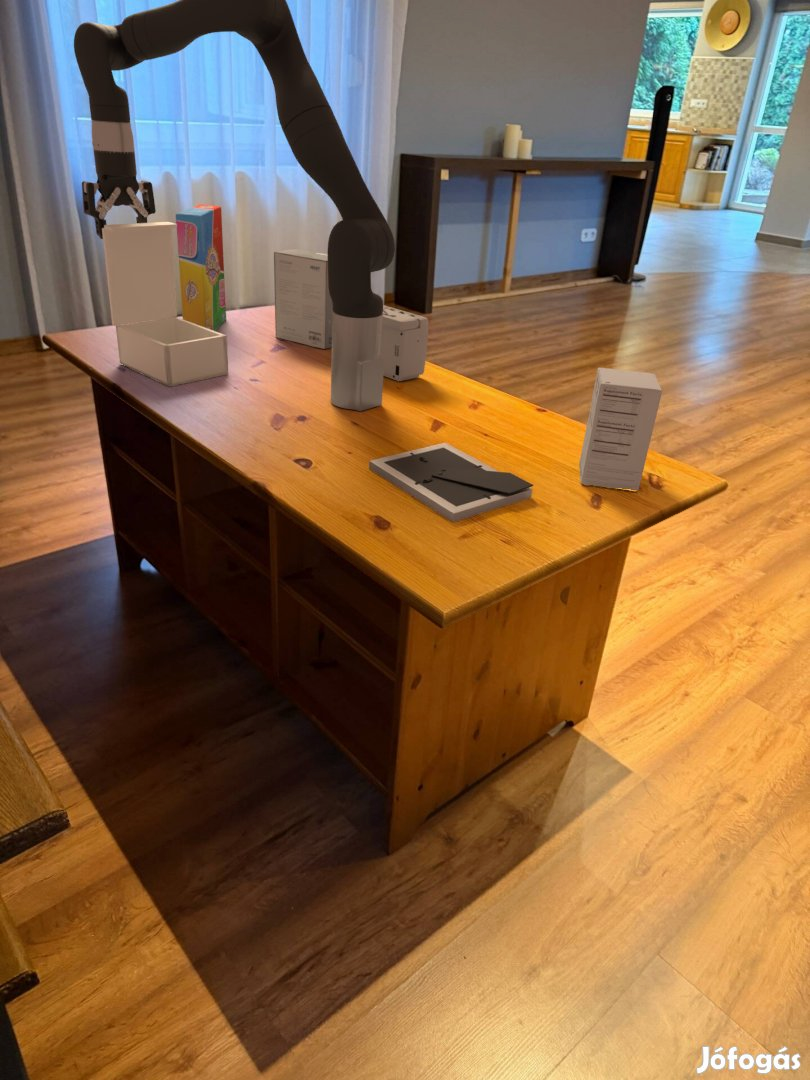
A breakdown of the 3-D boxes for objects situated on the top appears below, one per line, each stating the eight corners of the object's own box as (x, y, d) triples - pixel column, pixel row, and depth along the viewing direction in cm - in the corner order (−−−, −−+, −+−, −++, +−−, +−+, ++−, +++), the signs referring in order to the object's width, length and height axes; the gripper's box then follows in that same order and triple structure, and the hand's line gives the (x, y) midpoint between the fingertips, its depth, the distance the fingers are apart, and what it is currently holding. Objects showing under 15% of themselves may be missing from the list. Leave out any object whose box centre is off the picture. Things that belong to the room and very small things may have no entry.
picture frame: (530, 501, 117) (444, 453, 131) (533, 484, 115) (445, 438, 129) (452, 526, 108) (368, 472, 122) (454, 508, 106) (369, 456, 120)
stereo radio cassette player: (425, 378, 165) (434, 282, 155) (399, 385, 159) (406, 286, 149) (359, 355, 177) (362, 265, 167) (332, 360, 171) (334, 268, 161)
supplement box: (639, 493, 120) (664, 390, 112) (579, 486, 121) (600, 383, 113) (633, 469, 128) (656, 372, 120) (578, 462, 129) (597, 365, 121)
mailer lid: (178, 224, 153) (156, 217, 157) (110, 227, 143) (89, 220, 148) (183, 319, 163) (163, 310, 167) (121, 328, 153) (100, 319, 157)
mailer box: (228, 374, 158) (226, 335, 154) (169, 387, 148) (165, 346, 144) (178, 353, 168) (175, 316, 164) (120, 364, 158) (115, 325, 154)
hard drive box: (344, 344, 183) (347, 257, 174) (325, 350, 178) (326, 261, 168) (294, 331, 190) (293, 247, 180) (273, 337, 184) (272, 250, 175)
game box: (206, 341, 178) (199, 215, 165) (183, 339, 178) (173, 213, 164) (226, 319, 196) (221, 205, 183) (205, 318, 196) (198, 203, 183)
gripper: (88, 149, 140) (100, 242, 148) (157, 150, 149) (164, 238, 157) (68, 146, 144) (80, 237, 152) (136, 147, 154) (144, 233, 162)
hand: (123, 237), depth 155 cm, fingers open, 8 cm apart
